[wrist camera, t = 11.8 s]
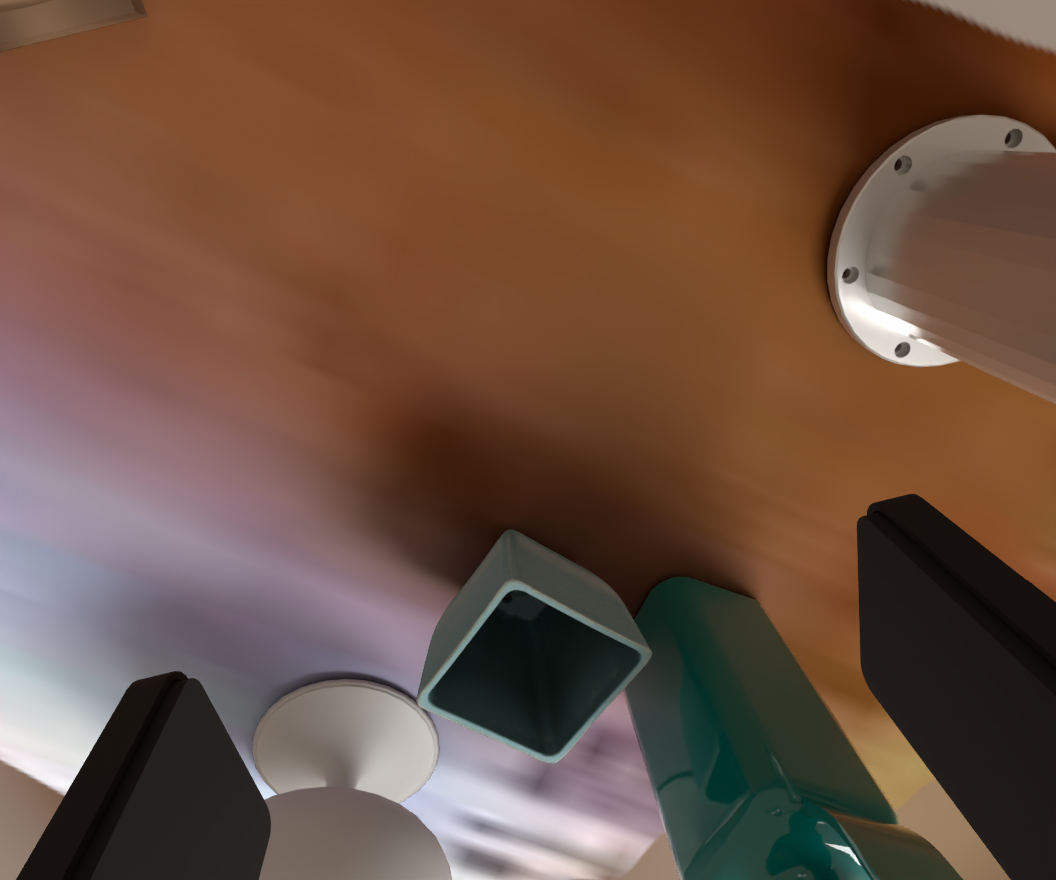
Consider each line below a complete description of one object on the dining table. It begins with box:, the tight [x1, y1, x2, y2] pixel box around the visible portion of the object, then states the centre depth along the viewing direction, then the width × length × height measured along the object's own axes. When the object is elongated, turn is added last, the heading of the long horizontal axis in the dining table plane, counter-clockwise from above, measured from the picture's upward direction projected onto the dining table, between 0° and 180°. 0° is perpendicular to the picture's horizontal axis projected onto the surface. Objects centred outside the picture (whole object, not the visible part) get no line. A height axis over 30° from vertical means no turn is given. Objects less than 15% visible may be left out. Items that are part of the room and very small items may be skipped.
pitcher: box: [623, 576, 963, 880], centre depth 36 cm, size 10×8×22 cm
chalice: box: [252, 679, 452, 880], centre depth 40 cm, size 14×14×15 cm
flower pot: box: [416, 530, 652, 763], centre depth 39 cm, size 9×9×9 cm
